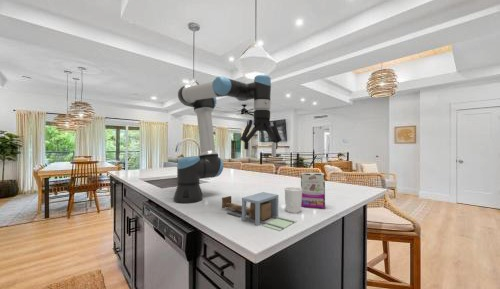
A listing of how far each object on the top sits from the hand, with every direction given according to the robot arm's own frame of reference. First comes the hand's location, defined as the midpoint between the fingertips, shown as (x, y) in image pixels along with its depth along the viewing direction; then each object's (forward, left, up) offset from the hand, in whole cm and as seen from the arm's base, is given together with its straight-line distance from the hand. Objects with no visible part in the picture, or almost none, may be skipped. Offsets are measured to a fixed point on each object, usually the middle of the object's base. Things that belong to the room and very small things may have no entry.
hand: (261, 156), depth 99 cm
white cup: (+11, +9, -25) cm, 29 cm away
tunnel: (+6, -9, -25) cm, 27 cm away
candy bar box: (+15, +21, -25) cm, 36 cm away
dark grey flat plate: (-5, -9, -25) cm, 26 cm away
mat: (+16, -9, -25) cm, 30 cm away
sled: (-2, -9, -24) cm, 26 cm away
